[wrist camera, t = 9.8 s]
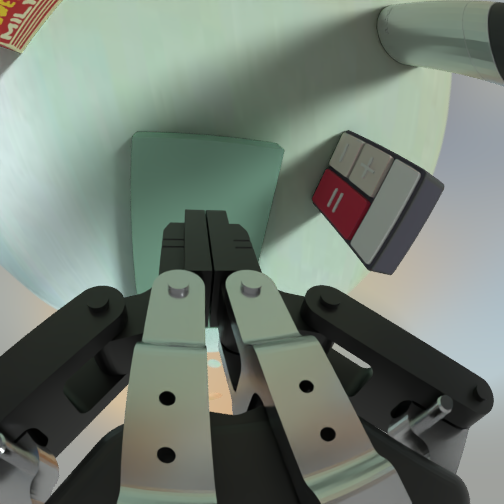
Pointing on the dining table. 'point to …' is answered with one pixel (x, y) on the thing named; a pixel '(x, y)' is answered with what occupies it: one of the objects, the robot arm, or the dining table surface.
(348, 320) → the robot arm
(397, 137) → the dining table surface
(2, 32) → the milk carton
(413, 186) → the calculator
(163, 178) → the putting board
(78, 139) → the dining table surface
